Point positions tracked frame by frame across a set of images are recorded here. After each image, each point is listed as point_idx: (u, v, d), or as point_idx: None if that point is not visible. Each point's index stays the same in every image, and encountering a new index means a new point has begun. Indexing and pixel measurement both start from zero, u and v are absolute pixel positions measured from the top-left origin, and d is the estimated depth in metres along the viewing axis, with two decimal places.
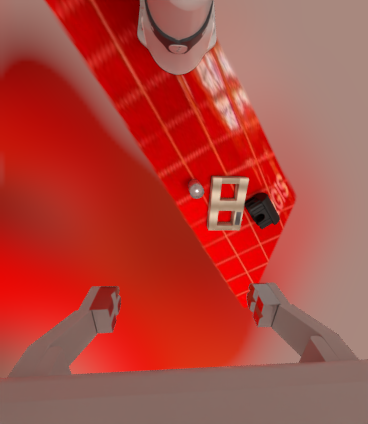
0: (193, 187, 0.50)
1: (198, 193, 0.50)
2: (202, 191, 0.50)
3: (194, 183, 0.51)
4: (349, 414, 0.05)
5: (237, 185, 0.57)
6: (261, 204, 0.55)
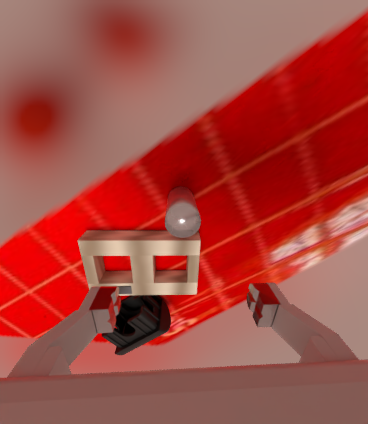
0: (194, 213, 0.20)
1: (179, 226, 0.20)
2: (183, 234, 0.20)
3: (197, 210, 0.22)
4: (349, 414, 0.05)
5: (181, 276, 0.31)
6: (153, 328, 0.30)
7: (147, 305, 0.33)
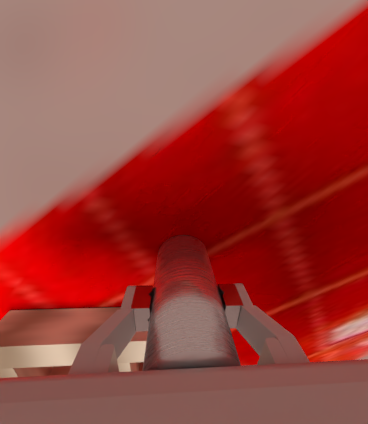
0: (227, 365, 0.07)
1: None
2: None
3: (227, 321, 0.09)
4: (349, 414, 0.05)
5: None
6: None
7: None
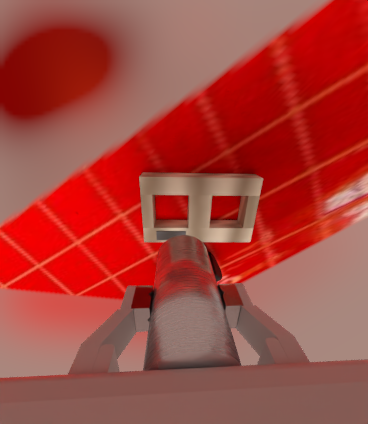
0: (227, 365, 0.07)
1: None
2: None
3: (227, 321, 0.09)
4: (349, 414, 0.05)
5: (234, 224, 0.31)
6: None
7: None
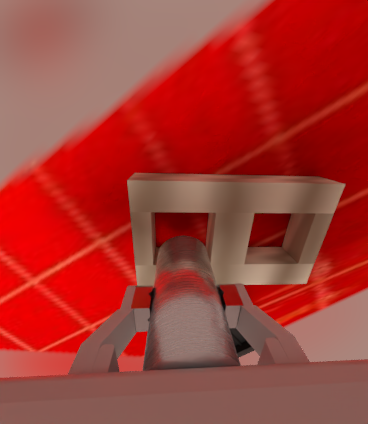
0: None
1: None
2: None
3: (227, 322, 0.09)
4: (349, 414, 0.05)
5: (281, 255, 0.19)
6: (243, 339, 0.18)
7: None
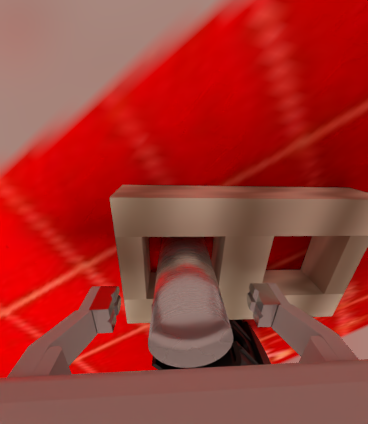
0: (219, 326, 0.08)
1: (182, 350, 0.09)
2: (192, 362, 0.09)
3: (221, 296, 0.10)
4: (349, 414, 0.05)
5: (301, 281, 0.16)
6: None
7: None
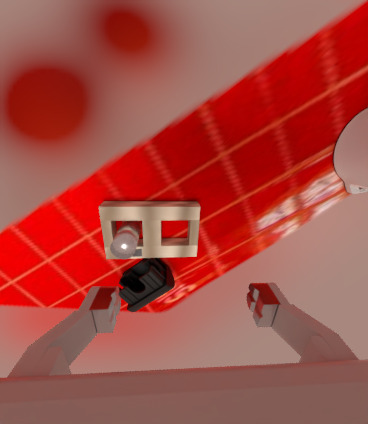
0: (130, 242, 0.29)
1: (121, 251, 0.29)
2: (124, 256, 0.29)
3: (136, 238, 0.31)
4: (349, 414, 0.05)
5: (183, 241, 0.37)
6: (160, 284, 0.35)
7: None
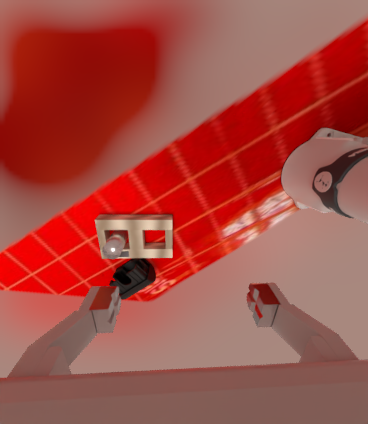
0: (116, 247, 0.39)
1: (110, 253, 0.39)
2: (113, 257, 0.40)
3: (122, 243, 0.41)
4: (349, 414, 0.05)
5: (162, 245, 0.47)
6: (143, 278, 0.45)
7: (139, 267, 0.49)
